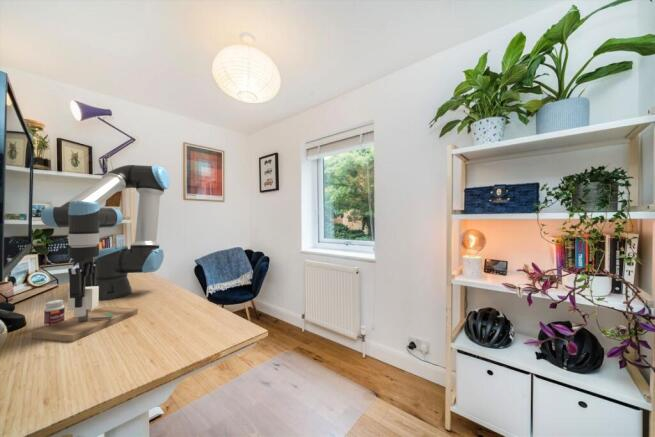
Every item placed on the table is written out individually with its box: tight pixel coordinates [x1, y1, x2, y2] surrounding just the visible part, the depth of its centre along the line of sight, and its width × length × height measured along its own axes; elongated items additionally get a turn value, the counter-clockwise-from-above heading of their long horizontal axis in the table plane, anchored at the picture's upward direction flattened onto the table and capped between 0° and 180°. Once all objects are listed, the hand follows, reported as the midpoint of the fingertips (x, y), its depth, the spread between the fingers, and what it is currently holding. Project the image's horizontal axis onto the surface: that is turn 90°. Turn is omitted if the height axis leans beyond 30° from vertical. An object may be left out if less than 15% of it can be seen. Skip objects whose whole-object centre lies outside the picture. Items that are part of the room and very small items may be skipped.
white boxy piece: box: [67, 286, 113, 322], centre depth 85 cm, size 3×12×11 cm, turn 102°
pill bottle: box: [43, 299, 66, 328], centre depth 85 cm, size 5×5×8 cm
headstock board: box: [30, 305, 139, 343], centre depth 86 cm, size 22×15×2 cm
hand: (83, 313), depth 84 cm, fingers closed on white boxy piece, 4 cm apart
